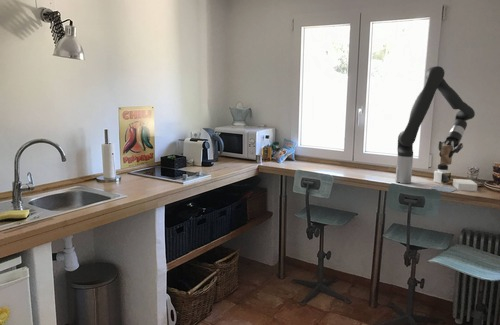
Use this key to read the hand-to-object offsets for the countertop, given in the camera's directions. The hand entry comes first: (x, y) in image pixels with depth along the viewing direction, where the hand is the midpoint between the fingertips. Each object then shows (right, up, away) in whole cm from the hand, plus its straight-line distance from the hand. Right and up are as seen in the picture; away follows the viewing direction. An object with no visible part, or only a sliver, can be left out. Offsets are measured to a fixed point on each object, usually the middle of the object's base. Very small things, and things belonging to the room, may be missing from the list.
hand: (445, 156), depth 234 cm
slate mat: (+1, -20, +5) cm, 20 cm away
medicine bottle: (+10, -17, +24) cm, 31 cm away
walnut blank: (+1, -4, +2) cm, 5 cm away
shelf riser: (+16, -19, +8) cm, 26 cm away
